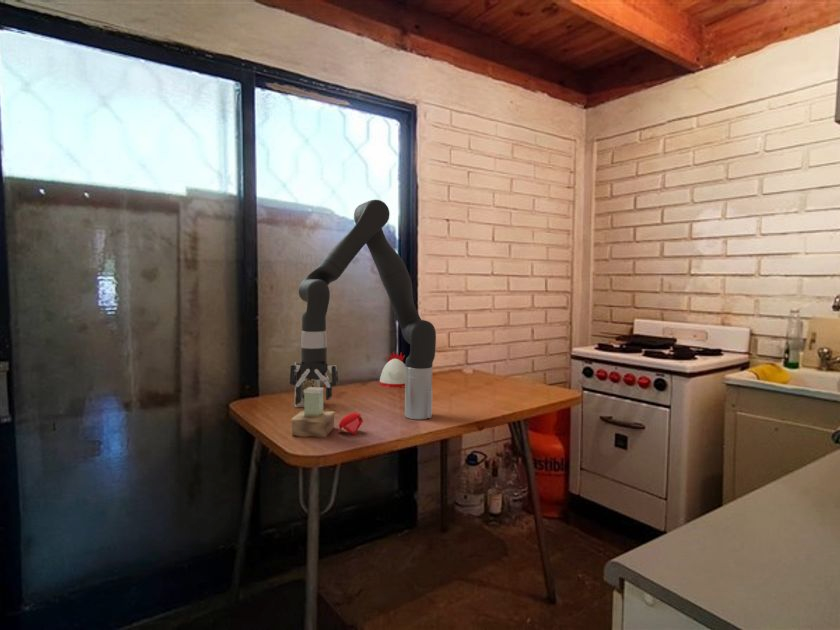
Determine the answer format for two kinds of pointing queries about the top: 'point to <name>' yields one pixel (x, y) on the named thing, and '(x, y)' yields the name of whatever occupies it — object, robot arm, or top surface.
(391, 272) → the robot arm
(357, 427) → the cap
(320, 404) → the tea tin
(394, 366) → the kitchen timer
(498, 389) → the top surface
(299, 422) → the beige flat block
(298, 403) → the coffee box
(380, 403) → the top surface
